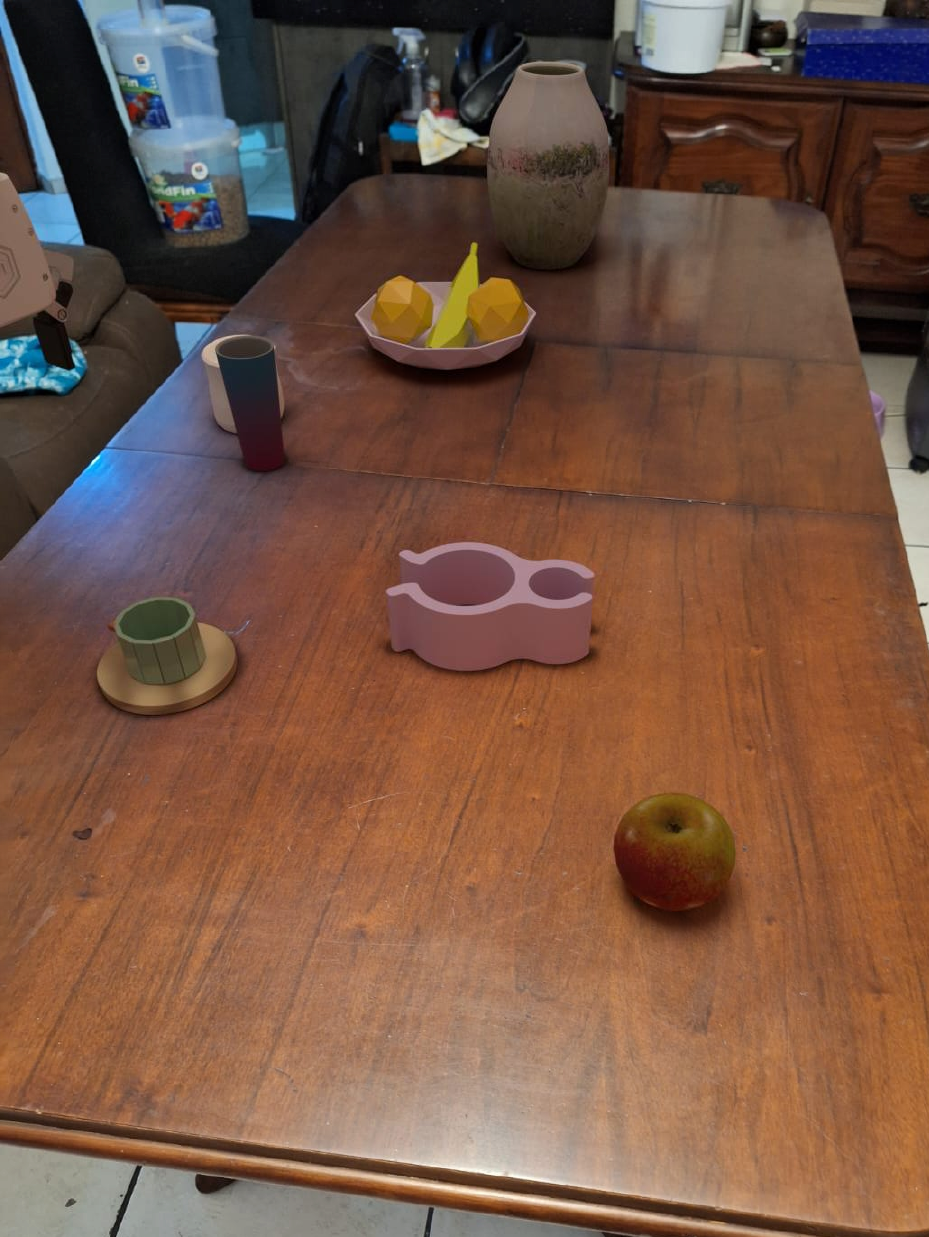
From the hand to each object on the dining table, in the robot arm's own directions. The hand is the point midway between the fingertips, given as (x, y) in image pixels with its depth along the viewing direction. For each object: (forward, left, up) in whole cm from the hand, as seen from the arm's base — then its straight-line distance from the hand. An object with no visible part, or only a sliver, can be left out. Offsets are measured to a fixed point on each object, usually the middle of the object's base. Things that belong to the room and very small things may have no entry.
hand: (14, 386), depth 87 cm
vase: (+101, +68, -26) cm, 125 cm away
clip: (+34, -22, -26) cm, 48 cm away
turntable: (+4, -10, -26) cm, 28 cm away
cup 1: (+31, +36, -26) cm, 54 cm away
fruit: (+29, -57, -26) cm, 69 cm away
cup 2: (+28, +24, -26) cm, 45 cm away
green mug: (+3, -9, -25) cm, 27 cm away
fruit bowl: (+66, +42, -26) cm, 83 cm away
